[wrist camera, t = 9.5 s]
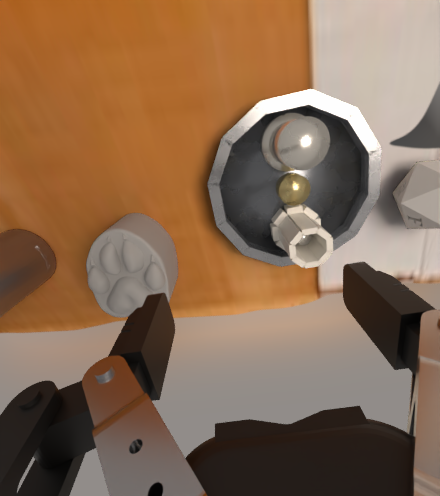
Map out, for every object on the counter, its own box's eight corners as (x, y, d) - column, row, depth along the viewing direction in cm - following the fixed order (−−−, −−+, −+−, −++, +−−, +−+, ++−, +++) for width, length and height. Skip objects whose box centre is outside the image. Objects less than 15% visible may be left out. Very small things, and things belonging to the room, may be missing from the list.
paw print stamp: (120, 291, 42) (95, 326, 34) (99, 215, 37) (64, 236, 29) (181, 287, 42) (171, 322, 34) (169, 210, 37) (154, 229, 29)
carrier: (227, 265, 40) (227, 299, 31) (195, 118, 32) (185, 111, 23) (365, 241, 38) (405, 271, 29) (369, 78, 30) (426, 54, 21)
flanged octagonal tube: (267, 208, 35) (279, 227, 28) (315, 199, 34) (339, 215, 27) (273, 250, 37) (285, 277, 30) (317, 242, 37) (340, 268, 30)
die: (384, 156, 34) (392, 214, 29) (478, 126, 28) (508, 191, 23) (395, 198, 39) (403, 253, 34) (476, 180, 34) (501, 242, 29)
